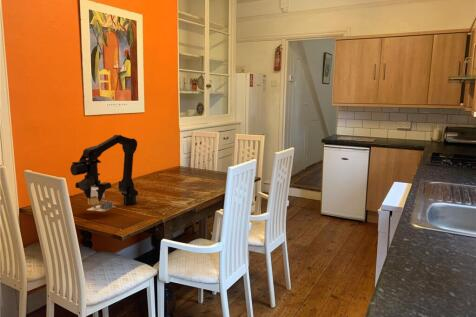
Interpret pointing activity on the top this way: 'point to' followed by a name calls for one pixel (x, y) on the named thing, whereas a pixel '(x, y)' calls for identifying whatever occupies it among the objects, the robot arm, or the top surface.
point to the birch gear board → (98, 208)
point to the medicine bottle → (94, 192)
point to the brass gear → (93, 200)
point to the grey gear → (106, 205)
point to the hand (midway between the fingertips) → (94, 200)
